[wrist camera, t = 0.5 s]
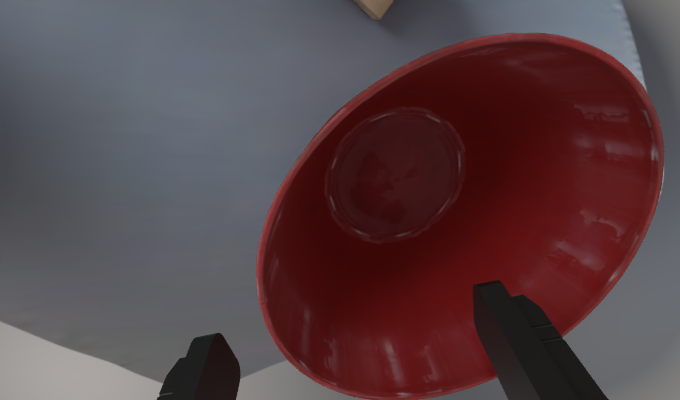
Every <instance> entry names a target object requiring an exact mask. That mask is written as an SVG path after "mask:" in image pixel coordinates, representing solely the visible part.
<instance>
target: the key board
mask: <svg viewBox="0 0 680 400" xmlns="http://www.w3.org/2000/svg"><path fill="white" fill-rule="evenodd" d="M353 1H354V2H355V3H356V4H357V5H358V6H359V7H360V8H361V9H362V10H363V11H365V12H366V13H367V14H368V15H369V16H370V17H371V18H372V19H379V20H380V19H381V18H382V17H383V15H384V14H385V12H386V11H387V9H388V8H389V7H390V5H391V4H392V2H393V1H394V0H353Z"/></svg>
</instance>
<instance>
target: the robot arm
mask: <svg viewBox="0 0 680 400" xmlns="http://www.w3.org/2000/svg"><path fill="white" fill-rule="evenodd" d="M473 316H474V324H475V327H476V331H477V334H478V336H479V339H480V341H481V343H482V345H483V347H484V349H485V351H486V353H487V356H488V358H489V360H490V362H491V364H492V366H493V368H494V370H495V372H496V375H497V377H498V379H499V380H500V383H501V385H502V387H503V389H504V391H505V393H506V395H507V398H508V399H509V400H609V399H608V398H607V397H606V396H605V395H604V394H603V392H602V391H601V389H600V388H599V387H598V385H597V384H596V383H595V381H594V380H593V379H592V377H591V376H590V374H589V373H588V372H587V370H586V369H585V368H584V366H583V365H582V363H581V362H580V361H579V359H578V358H577V356H576V355H575V354H574V352H573V351H572V350H571V348H570V347H569V346H568V344H567V343H566V341H565V340H563V339H562V336H561V334H560V333H559V332H558V330H557V329H556V328H555V326H553V325H552V322H551V321H550V319H549V318H548V317H547V315H546V314H545V313H544V311H543V310H542V308H541V307H540V306H539V305H537V304H536V303H534V302H533V301H532V300H530V299H529V298H527V297H526V296H525V295H517V296H512V297H511V295H510V294H509V292H508V291H507V289H506V288H505V286H504V285H503V283H502V282H501V281H500V280H495V281H490V282H485V283H480V284H475V285H473ZM239 382H240V366H239V363H238V360H237V359H236V357H235V355H234V354H233V352H232V350H231V349H230V347H229V345H228V344H227V342H226V340H225V339H224V337H223V335H222V334H220V333H216V334H211V335H206V336H201V337H196V338H194V339H193V341H192V343H191V345H190V348H189V350H188V353H187V355H186V357H185V358H180V359H179V360H178V361H177V363H176V364H175V365H174V367H173V368H172V369H171V371H170V372H169V373H168V375H167V376H166V379H165V381H164V384H163V386H162V388H161V391H160V393H159V394H160V396H159V397H158V398H157V400H236V397H237V392H238V387H239Z"/></svg>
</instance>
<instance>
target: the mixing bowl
mask: <svg viewBox="0 0 680 400" xmlns="http://www.w3.org/2000/svg"><path fill="white" fill-rule="evenodd" d="M663 167H664V144H663V137H662V131H661V126H660V121H659V118H658V115H657V112H656V110H655V108H654V105H653V103H652V101H651V99H650V97H649V95H648V94H647V92H646V90H645V89H644V87H643V85H642V84H641V83H640V82H639V81H638V79H637V78H636V77H635V76H634V75H633V74H632V73H631V72H630V71H629V70H628V69H627V68H626V67H625V66H624V65H623V64H622V63H620V62H619V61H618V60H617V59H615V58H614V57H613V56H611V55H609V54H608V53H606V52H604V51H602V50H601V49H598V48H596V47H594V46H592V45H589V44H587V43H584V42H582V41H578V40H575V39H572V38H568V37H564V36H559V35H553V34H545V33H507V34H500V35H492V36H485V37H480V38H476V39H472V40H467V41H464V42H460V43H457V44H454V45H450V46H447V47H444V48H442V49H439V50H437V51H434V52H431V53H429V54H427V55H424V56H422V57H420V58H418V59H416V60H414V61H412V62H410V63H408V64H406V65H404V66H402V67H400V68H398V69H396V70H395V71H393V72H391V73H390V74H388V75H387V76H385V77H383V78H382V79H380V80H379V81H377V82H376V83H374V84H373V85H371V86H370V87H368V88H367V89H365V90H364V91H363V92H361V93H360V94H359V95H357V96H356V97H355V98H353V99H352V100H351V101H349V102H348V103H347V104H345V105H344V106H343V107H342V108H341V109H340V110H338V111H337V112H336V113H335V114H334V115H333V116H332V117H331V118H330V119H329V121H328V122H327V123H326V124H325V125H324V126H323V127H322V128H321V130H320V131H319V132H318V133H317V134H316V135H315V137H314V138H313V139H312V140H311V142H310V143H309V144H308V146H307V147H306V148H305V150H304V151H303V153H302V154H301V155H300V157H299V158H298V159H297V161H296V162H295V164H294V165H293V167H292V168H291V170H290V171H289V173H288V175H287V176H286V178H285V180H284V181H283V183H282V185H281V187H280V189H279V191H278V192H277V194H276V197H275V199H274V201H273V203H272V206H271V208H270V210H269V213H268V216H267V219H266V221H265V224H264V228H263V231H262V235H261V239H260V244H259V249H258V256H257V265H256V279H257V292H258V299H259V303H260V308H261V312H262V315H263V318H264V321H265V324H266V327H267V329H268V331H269V333H270V335H271V337H272V339H273V340H274V342H275V344H276V345H277V347H278V349H279V350H280V351H281V353H282V354H283V355H284V356H285V357H286V359H287V360H288V361H289V362H290V363H292V365H294V366H295V367H296V368H297V369H298V370H299V371H300V372H302V373H303V374H304V375H306V376H307V377H309V378H310V379H312V380H313V381H315V382H317V383H319V384H321V385H322V386H325V387H327V388H329V389H332V390H334V391H337V392H340V393H343V394H346V395H349V396H353V397H358V398H363V399H371V400H418V399H426V398H433V397H438V396H443V395H447V394H451V393H454V392H458V391H461V390H465V389H468V388H472V387H474V386H477V385H479V384H482V383H484V382H487V381H489V380H492V379H494V378H497V375H496V372H495V370H494V368H493V366H492V364H491V362H490V360H489V358H488V356H487V353H486V351H485V349H484V347H483V345H482V343H481V341H480V339H479V336H478V334H477V331H476V327H475V324H474V316H473V285H475V284H480V283H485V282H490V281H495V280H500V281H501V282H502V283H503V285H504V286H505V288H506V289H507V291H508V292H509V294H510V295H511V297H512V296H517V295H525V296H526V297H527V298H529V299H530V300H532V301H533V302H534V303H536V304H537V305H539V306H540V307H541V308H542V310H543V311H544V313H545V314H546V315H547V317H548V318H549V319H550V321H551V322H552V325H553V326H555V328H556V329H557V330H558V332H559V333H560V334H561V336H562V337H563V336H565V335H566V334H567V333H568V332H569V331H571V330H572V329H573V328H574V327H576V326H577V325H578V324H579V323H580V322H581V321H582V320H583V319H585V318H586V317H587V316H588V315H589V314H590V313H591V312H592V311H593V309H594V308H595V307H596V306H597V305H598V304H599V303H600V302H601V301H602V300H603V299H604V298H605V296H606V295H607V294H608V293H609V292H610V290H611V289H612V288H613V287H614V286H615V284H616V283H617V282H618V280H619V279H620V278H621V277H622V275H623V273H624V272H625V270H626V269H627V267H628V266H629V264H630V263H631V261H632V259H633V258H634V256H635V255H636V253H637V251H638V249H639V247H640V246H641V243H642V242H643V239H644V237H645V235H646V233H647V231H648V228H649V226H650V223H651V221H652V218H653V215H654V212H655V209H656V206H657V203H658V199H659V195H660V191H661V185H662V179H663Z"/></svg>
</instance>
